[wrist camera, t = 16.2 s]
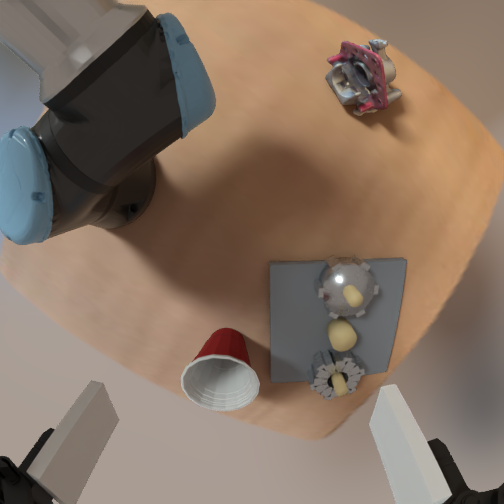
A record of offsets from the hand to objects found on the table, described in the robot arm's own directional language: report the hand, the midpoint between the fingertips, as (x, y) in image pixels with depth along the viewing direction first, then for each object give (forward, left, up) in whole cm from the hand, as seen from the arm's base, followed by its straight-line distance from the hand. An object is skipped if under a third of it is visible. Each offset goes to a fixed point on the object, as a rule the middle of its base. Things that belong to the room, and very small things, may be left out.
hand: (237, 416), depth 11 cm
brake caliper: (+16, +26, -32) cm, 44 cm away
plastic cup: (-5, -16, -32) cm, 36 cm away
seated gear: (+13, -5, -30) cm, 33 cm away
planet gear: (+13, -21, -30) cm, 39 cm away
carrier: (+13, -13, -32) cm, 37 cm away
